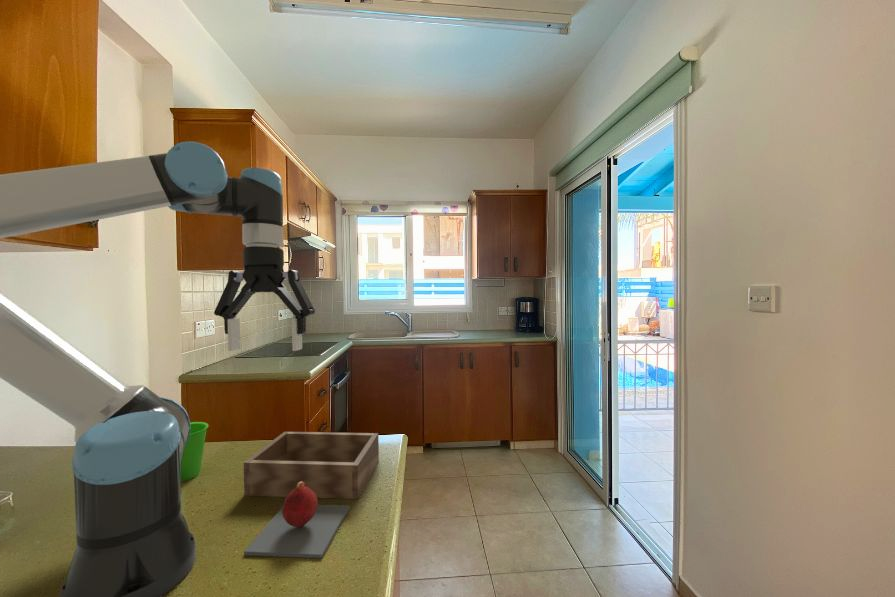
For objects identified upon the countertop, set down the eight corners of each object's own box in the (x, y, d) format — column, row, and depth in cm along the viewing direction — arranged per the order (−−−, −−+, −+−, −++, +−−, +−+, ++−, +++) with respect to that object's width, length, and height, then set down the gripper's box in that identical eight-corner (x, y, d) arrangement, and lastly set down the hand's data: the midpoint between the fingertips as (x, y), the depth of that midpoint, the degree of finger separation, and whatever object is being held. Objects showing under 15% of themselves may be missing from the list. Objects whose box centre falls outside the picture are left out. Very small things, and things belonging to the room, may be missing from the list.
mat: (244, 555, 58) (244, 551, 58) (285, 506, 71) (285, 503, 71) (321, 558, 57) (321, 554, 57) (349, 508, 70) (349, 505, 70)
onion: (309, 538, 61) (309, 492, 61) (276, 537, 61) (275, 491, 61) (322, 516, 67) (321, 474, 67) (292, 516, 67) (291, 474, 67)
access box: (244, 495, 75) (243, 462, 75) (284, 458, 91) (284, 431, 91) (358, 498, 73) (357, 465, 73) (378, 460, 90) (378, 433, 90)
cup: (214, 463, 89) (213, 419, 89) (202, 481, 81) (201, 433, 80) (171, 469, 86) (170, 424, 86) (154, 489, 78) (152, 439, 77)
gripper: (329, 248, 77) (331, 346, 77) (218, 250, 78) (220, 346, 79) (314, 243, 69) (316, 353, 70) (191, 246, 71) (194, 352, 71)
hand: (265, 350), depth 74 cm, fingers open, 13 cm apart
